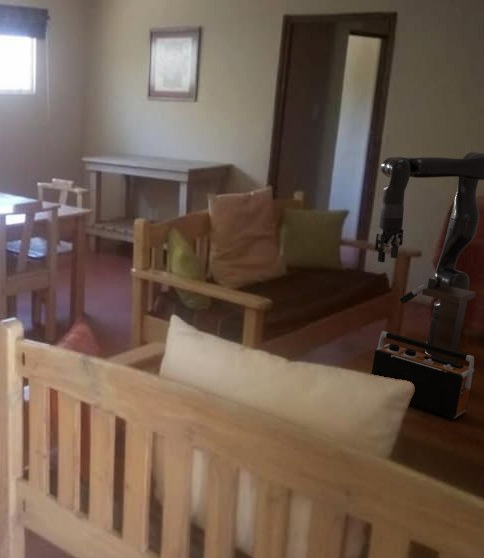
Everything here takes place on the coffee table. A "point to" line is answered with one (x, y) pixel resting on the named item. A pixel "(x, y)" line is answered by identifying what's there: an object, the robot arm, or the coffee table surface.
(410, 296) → the lever
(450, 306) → the stand
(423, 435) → the coffee table surface
